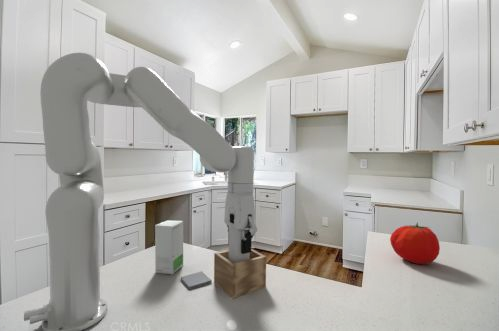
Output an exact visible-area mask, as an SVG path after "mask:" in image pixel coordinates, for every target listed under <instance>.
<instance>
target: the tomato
mask: <svg viewBox="0 0 499 331" xmlns="http://www.w3.org/2000/svg"><path fill="white" fill-rule="evenodd" d="M389 242H390V246H391V248H392V249H393V251H394V252H395V253H396V254H397V256H398V257H400V258H402V259H403V260H405V261H408V262H409V263H414V264H416V265H418V264H419V265H425V264H426V265H427V264H431V263H432V262H434V261H435V260H436V259H437V258H438V256H439V255H440V249H441V247H440V241H439V239H438V237H437V234H435V233H434V231H433V230H432V229H431V228H430V227H428V226H419V223H418V222H416V224H414V225H403V226H400V227H397V228H396V229H395V230H393V232H392V233H391V235H390V238H389Z"/></svg>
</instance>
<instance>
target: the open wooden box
mask: <svg viewBox="0 0 499 331" xmlns="http://www.w3.org/2000/svg"><path fill="white" fill-rule="evenodd" d="M228 253H229V249H227V250H220V251H217V252H214V253H213V254H214V257H213V258H214V260H213V261H214V265H213V271H214V272H213V284H215V285H216V286H217V287H218V288H219V289H220V290H221V291H223V292H224V293H225V294H226V295H227V296H228V297H229V298H231V299H235V298H238V297H241V296H244V295H247V294H250V293H253V292H255V291H259V290H261V289H264V288H266V287H267V284H266V283H267V282H266V281H267V255H264V254H262V253H261V252H259V251H257V250H255V249H253V248H251V252H250V259H249V260H245V261H241V262H238V263H232V262H231V261H229V260H228Z"/></svg>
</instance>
